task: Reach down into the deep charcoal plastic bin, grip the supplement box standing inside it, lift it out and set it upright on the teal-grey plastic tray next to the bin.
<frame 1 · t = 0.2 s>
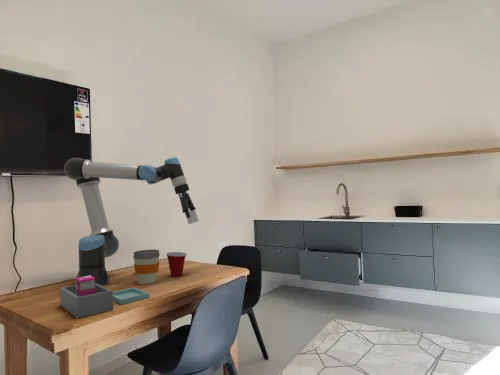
hand: (194, 222, 180), 28 cm above the table, tool tilted 20°, fingers open, 13 cm apart
deep bin: (85, 307, 129), on the table
supplement box: (85, 308, 129), resting in deep bin
reusable coffee cup: (147, 282, 167), on the table
candle holder: (143, 273, 188), on the table
tray: (128, 297, 140), on the table
plastic cup: (177, 276, 179), on the table
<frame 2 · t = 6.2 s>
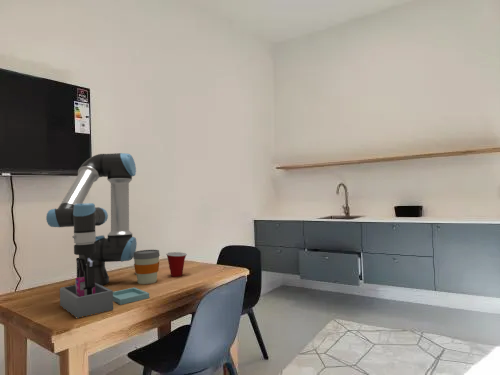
hand: (85, 304, 129), 1 cm above the table, tool pointing down, fingers closed on supplement box, 6 cm apart
supplement box: (85, 308, 129), resting in deep bin, touching gripper
everything else where it was.
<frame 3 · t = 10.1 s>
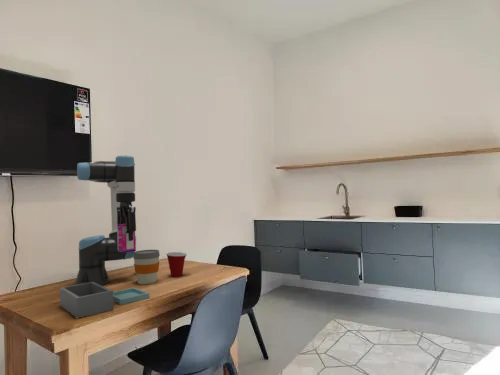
hand: (126, 247, 141), 21 cm above the table, tool pointing down, fingers closed on supplement box, 6 cm apart
supplement box: (126, 251, 141), point 19 cm above the table, touching gripper
everything else where it was.
when the fingers open (4 cm above the table, at t = 14.0 s): supplement box drops 2 cm, resting on tray.
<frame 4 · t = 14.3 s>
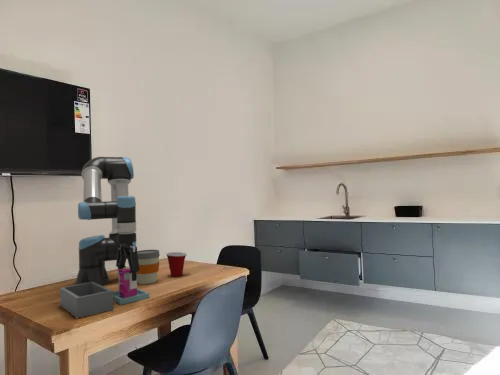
hand: (127, 286, 140), 5 cm above the table, tool pointing down, fingers open, 10 cm apart
supplement box: (127, 297, 140), resting on tray
everything else where it was.
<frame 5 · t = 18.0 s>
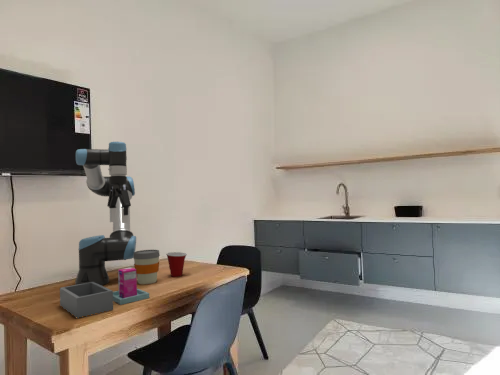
hand: (118, 222, 153), 31 cm above the table, tool pointing down, fingers open, 13 cm apart
nothing on the table moved.
at the end: supplement box inside the target area on the tray (0.1 cm from its centre), point 0.3 cm above the tray's base; supplement box tilted 0°; the gripper is holding nothing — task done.
